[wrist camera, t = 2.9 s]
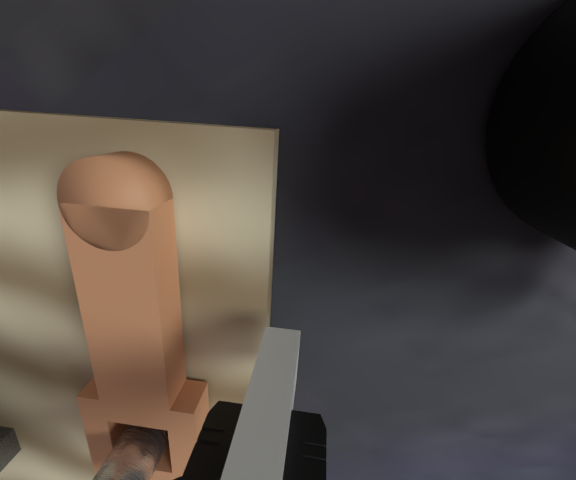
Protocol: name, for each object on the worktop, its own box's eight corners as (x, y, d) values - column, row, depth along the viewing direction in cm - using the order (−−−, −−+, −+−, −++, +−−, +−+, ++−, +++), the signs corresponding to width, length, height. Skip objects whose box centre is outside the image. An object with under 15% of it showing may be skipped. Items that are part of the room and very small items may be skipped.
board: (-177, 97, 15) (-216, 95, 14) (279, 129, 14) (274, 130, 12) (-12, 479, 26) (-27, 496, 25) (259, 528, 24) (256, 548, 23)
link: (211, 458, 20) (198, 494, 18) (117, 442, 20) (95, 476, 18) (198, 156, 13) (176, 163, 11) (59, 145, 13) (16, 150, 12)
